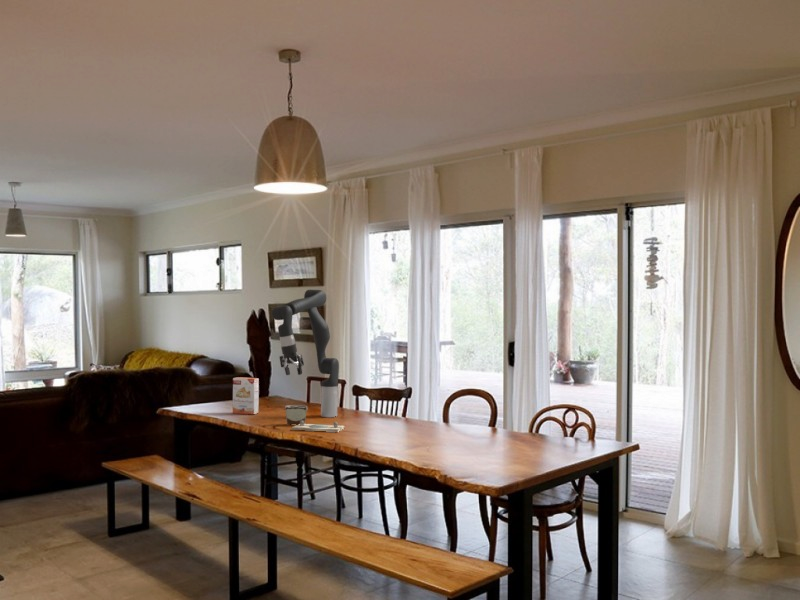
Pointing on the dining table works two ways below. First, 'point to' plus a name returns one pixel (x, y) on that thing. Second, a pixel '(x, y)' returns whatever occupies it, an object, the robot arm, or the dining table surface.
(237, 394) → the cracker box
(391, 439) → the dining table surface
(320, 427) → the board
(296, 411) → the food container
